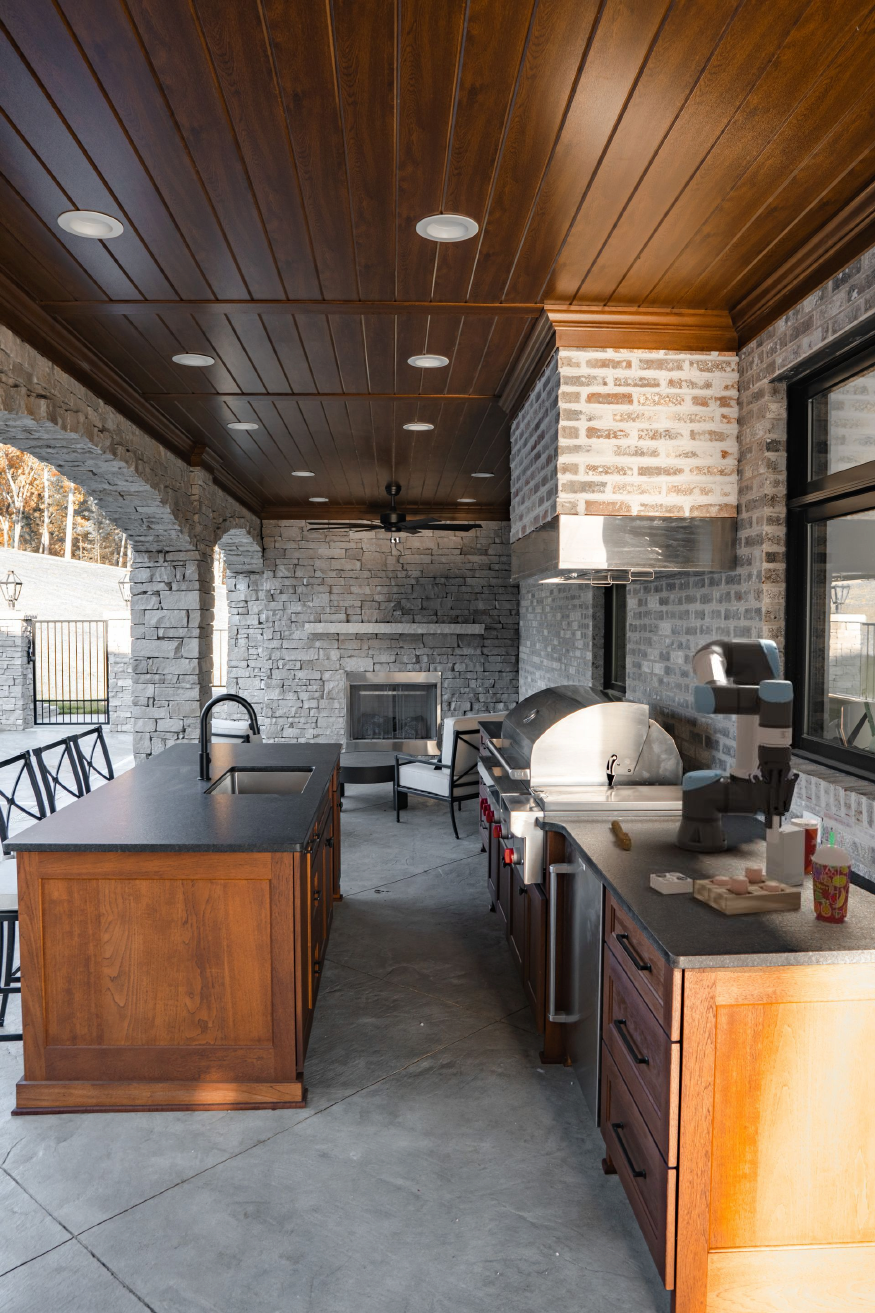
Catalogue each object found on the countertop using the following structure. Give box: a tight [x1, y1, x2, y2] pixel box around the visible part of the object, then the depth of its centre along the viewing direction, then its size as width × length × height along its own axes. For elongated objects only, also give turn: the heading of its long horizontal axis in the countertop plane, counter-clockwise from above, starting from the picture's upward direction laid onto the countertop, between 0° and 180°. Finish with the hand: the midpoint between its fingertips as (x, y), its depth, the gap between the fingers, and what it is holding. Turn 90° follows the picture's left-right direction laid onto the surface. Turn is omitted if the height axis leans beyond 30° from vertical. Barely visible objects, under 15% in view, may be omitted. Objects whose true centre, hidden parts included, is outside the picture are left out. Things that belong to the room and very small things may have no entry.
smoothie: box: [811, 832, 853, 924], centre depth 188 cm, size 8×8×20 cm
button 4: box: [763, 882, 781, 893], centre depth 197 cm, size 4×4×4 cm
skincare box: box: [765, 824, 805, 887], centre depth 215 cm, size 8×6×15 cm
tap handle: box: [610, 820, 633, 851], centre depth 262 cm, size 3×3×30 cm
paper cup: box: [788, 817, 820, 874], centre depth 227 cm, size 8×8×14 cm
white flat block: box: [649, 871, 694, 895], centre depth 209 cm, size 7×8×3 cm
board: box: [693, 874, 802, 916], centre depth 199 cm, size 14×20×4 cm
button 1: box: [712, 875, 731, 886], centre depth 202 cm, size 4×4×4 cm
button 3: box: [744, 865, 763, 884], centre depth 204 cm, size 4×4×4 cm
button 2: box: [730, 875, 749, 895], centre depth 195 cm, size 4×4×4 cm
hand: (772, 841), depth 197 cm, fingers closed
